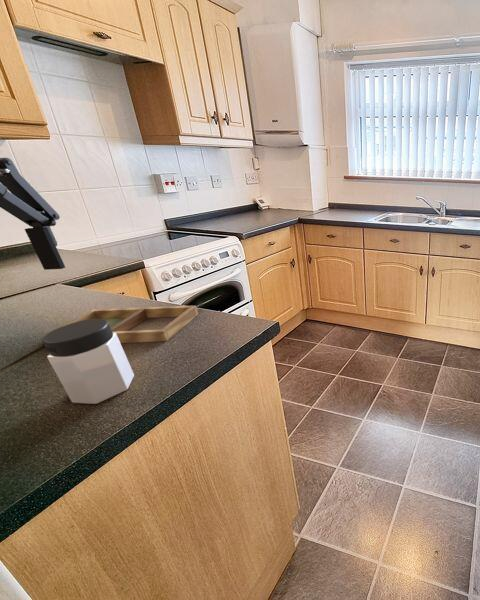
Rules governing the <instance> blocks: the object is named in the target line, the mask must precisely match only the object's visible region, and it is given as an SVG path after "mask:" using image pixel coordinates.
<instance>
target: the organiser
mask: <svg viewBox="0 0 480 600" xmlns="http://www.w3.org/2000/svg"><path fill="white" fill-rule="evenodd" d="M197 316H199V311H198V308H197V305H175V306H173V305H172V306H150V307H148V306H147V307H124V308H101V309H100V308H97V309H92V310H89V311H88V312H86V313H85V314H83V315H81V316H79V317H77V318H75V319H73V320H72V321H70V322H68V323H65V324H64V325H63V326H65V325H68V324H71V323H75V322H79V321H84V320H90V319H104V320H106V321H108V323H109V326H110V328H111V330H112V332H113V333H116V334H117V336H118V339H119V341H120V343H121V344H131V343H155V342H157V343H158V342H167V341H169V340H170V339H171V338H173V337H174V336H175V335H176V334H177V333H178V332H179V331H181V330H182V329H183V328H184V327H185V326H187V325H188V324H189V323H190V322H191V321H193V320H194V319H195V318H196V317H197ZM175 317H176V318H175ZM151 318H174V319H173V320H172V321H170V322H169V323H168V324H166V325H165V326H164V327H162V329H142V330H132V329H134V328H135V327H136V326H138V325H139V324H141V323H143V322H144V321H145V320H146V319H151ZM46 335H47V334H46ZM46 335H44V336H43V338H44V337H45V336H46Z"/></svg>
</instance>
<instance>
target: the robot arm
mask: <svg viewBox="0 0 480 600" xmlns="http://www.w3.org/2000/svg"><path fill="white" fill-rule="evenodd" d="M0 209H2V210H4V211H5V212H7V213H9V214H10V215H12V216H13V217H14V218H16V219H18V220H19V221H21V222H23V223H24V224H26V225H27V226H29V227H28V228H24V232H25V234H26V236H27V237H28V240H29V241H30V244H31V247H32V248H33V250H34V252H35V254H36V256H37V258H38V260H39V262H40V264H41V267H42V268H43V270H44V271H46V270H47V271H48V270H63V269H66V265H65V263H64V261H63V259H62V257H61V254H60V252H59V250H58V241H57V239H56V236H55V235H54V233H53V231H52V228H51V227H55V226H56V225H57V220H58V221H59V220H60V214H59V213H58V212H57V211H56V210H55V209H54V208H53V207H52V206H51V205H50V203H48V202H47V200H45V198H44V197H42V195H41V194H40V193H39V192H38V191H37V190H36V189H35V188H34V187H33V186H32V185H31V184H30V183H29V182H28V181H27V180H26V179H25V177H23V175H22V174H21V173H20V172H19V170H18V168H17V166H16V165H15V163H14V161H13V160H12V159H11V158H10V157H0Z"/></svg>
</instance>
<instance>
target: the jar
mask: <svg viewBox="0 0 480 600" xmlns="http://www.w3.org/2000/svg"><path fill="white" fill-rule="evenodd" d="M67 324H68V323H67ZM64 325H65V326H64ZM64 325H62V326H60V327H58V328H56V329H53V330H51V331H49V332H48V333H46V336H45V335H44V336H45V337H44V336H43V338H42V343H43V345H44V348H45V349H46V351H47V352H48V355H47V356H46V358H47V360H48V362H49V364H50V365H51V368H52V369H53V371H54V372H55V374H56V376H57V378H58V380H59V382H60V383H61V385H62V387H63V389H64V391H65V393H66V395H67V396H68V398H69V400H70V402H71V403H72V404H87V405H97V404H99V403H102V402H104V401H106V400H109V399H110V398H113V397H115V396H117V395H119V394H122V393H124V392H126V391H128V389H129V387H130V386H131V383H132V382H133V379H134V378H135V374H134V371H133V368H132V367H131V364H130V362H129V359H128V357H127V355H126V352H125V350H124V348H123V346H122V343H120V341H119V339H118V336H117V334H116V333H113V332H112V330H111V328H110V326H109V323H108V321H106V320H104V319H90V320H84V321H79V322H75V323H71V324H68V325H66V324H64Z"/></svg>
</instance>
